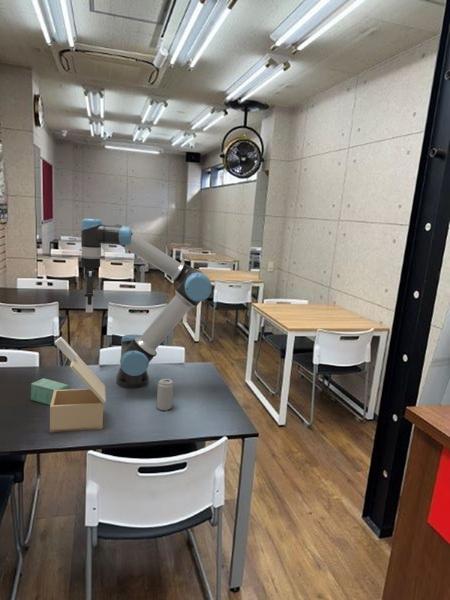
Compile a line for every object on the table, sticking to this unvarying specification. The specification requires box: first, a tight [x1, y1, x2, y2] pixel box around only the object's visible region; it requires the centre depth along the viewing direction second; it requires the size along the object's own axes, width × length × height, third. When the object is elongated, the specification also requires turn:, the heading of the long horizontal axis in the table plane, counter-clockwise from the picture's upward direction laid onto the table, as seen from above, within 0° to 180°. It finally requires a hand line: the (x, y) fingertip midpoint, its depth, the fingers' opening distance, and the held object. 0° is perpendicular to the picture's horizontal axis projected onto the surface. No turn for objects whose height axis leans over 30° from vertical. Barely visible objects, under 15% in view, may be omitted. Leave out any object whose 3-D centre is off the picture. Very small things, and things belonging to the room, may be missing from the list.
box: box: [30, 377, 70, 406], centre depth 166 cm, size 7×14×8 cm, turn 72°
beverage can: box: [156, 378, 174, 411], centre depth 168 cm, size 6×6×12 cm
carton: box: [49, 388, 104, 434], centre depth 151 cm, size 18×14×10 cm
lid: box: [54, 336, 107, 404], centre depth 148 cm, size 27×14×2 cm
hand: (89, 308), depth 167 cm, fingers open, 13 cm apart
